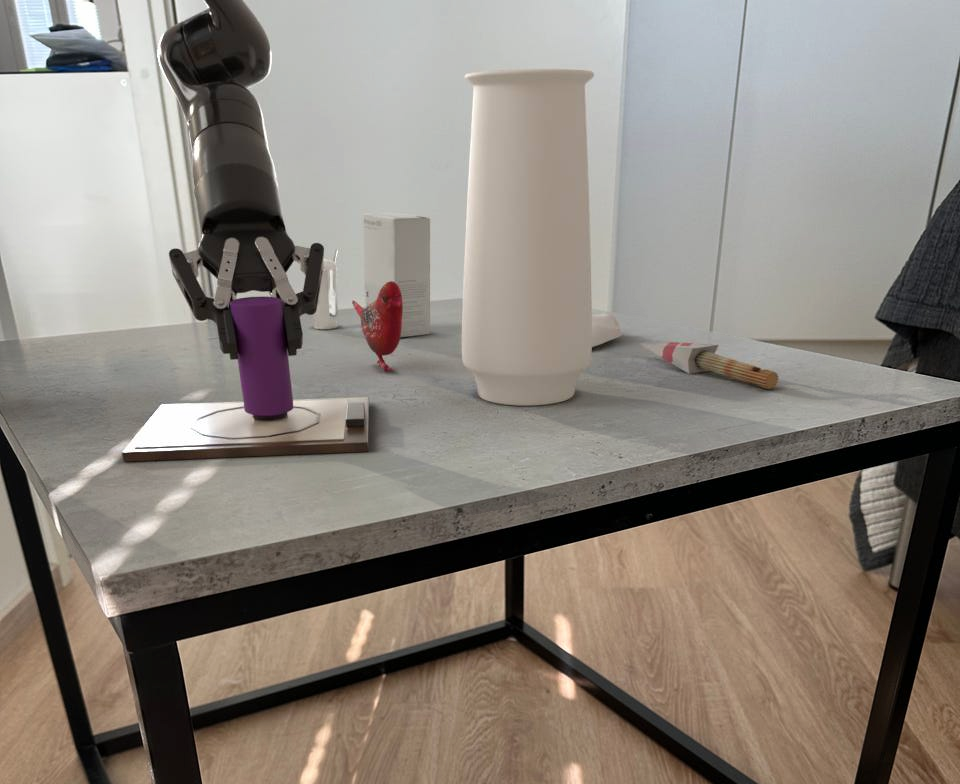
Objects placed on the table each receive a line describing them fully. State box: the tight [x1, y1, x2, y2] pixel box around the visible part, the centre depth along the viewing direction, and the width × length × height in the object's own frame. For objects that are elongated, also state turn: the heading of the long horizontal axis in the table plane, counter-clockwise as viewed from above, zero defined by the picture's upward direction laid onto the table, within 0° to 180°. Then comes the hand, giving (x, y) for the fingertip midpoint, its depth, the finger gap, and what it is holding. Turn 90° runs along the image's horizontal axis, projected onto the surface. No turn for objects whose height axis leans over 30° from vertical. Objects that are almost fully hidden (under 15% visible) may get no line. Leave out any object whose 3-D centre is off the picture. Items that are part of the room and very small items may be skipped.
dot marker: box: [230, 296, 294, 420], centre depth 82 cm, size 4×4×10 cm
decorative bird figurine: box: [351, 281, 403, 372], centre depth 105 cm, size 3×18×10 cm, turn 23°
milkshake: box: [311, 249, 339, 330], centre depth 129 cm, size 4×5×10 cm
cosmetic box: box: [362, 212, 431, 338], centre depth 123 cm, size 8×6×15 cm
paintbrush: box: [639, 340, 779, 390], centre depth 102 cm, size 4×3×20 cm
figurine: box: [592, 310, 624, 348], centre depth 116 cm, size 20×18×16 cm
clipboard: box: [121, 396, 370, 463], centre depth 83 cm, size 20×16×2 cm
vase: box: [461, 68, 595, 407], centre depth 88 cm, size 13×13×28 cm
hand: (263, 351), depth 80 cm, fingers closed on dot marker, 4 cm apart
